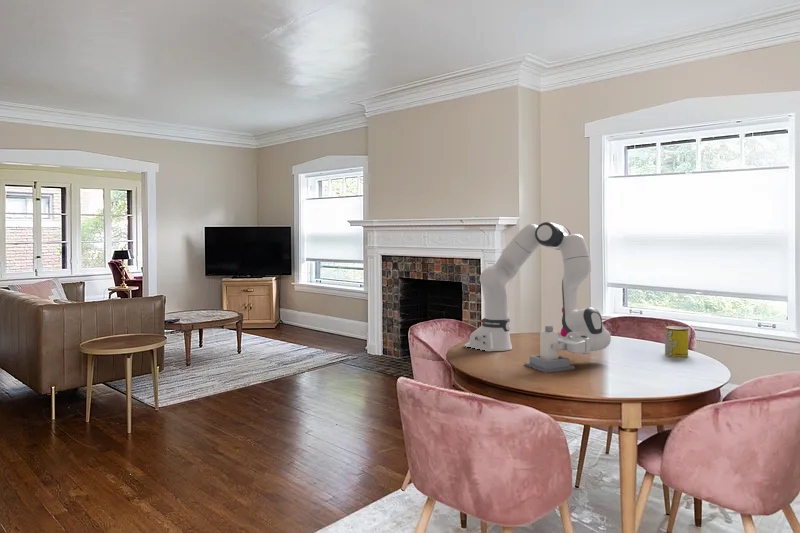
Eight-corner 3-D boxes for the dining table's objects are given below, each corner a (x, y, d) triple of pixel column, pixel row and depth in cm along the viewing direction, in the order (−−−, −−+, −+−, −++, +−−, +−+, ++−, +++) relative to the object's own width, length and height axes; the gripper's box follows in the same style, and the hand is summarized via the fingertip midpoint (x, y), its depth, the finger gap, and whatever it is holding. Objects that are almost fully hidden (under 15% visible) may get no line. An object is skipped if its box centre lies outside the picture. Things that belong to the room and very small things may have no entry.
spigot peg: (540, 360, 227) (540, 326, 226) (550, 359, 228) (550, 325, 228) (547, 362, 222) (547, 328, 221) (558, 361, 224) (558, 327, 223)
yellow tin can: (672, 352, 250) (672, 325, 249) (692, 355, 243) (692, 328, 242) (660, 354, 245) (661, 327, 244) (680, 358, 238) (681, 330, 237)
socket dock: (524, 365, 229) (524, 355, 229) (552, 361, 234) (552, 352, 234) (545, 372, 216) (545, 362, 216) (574, 369, 221) (574, 359, 221)
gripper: (559, 330, 239) (532, 333, 234) (592, 338, 220) (563, 341, 215) (559, 345, 239) (532, 348, 234) (592, 354, 220) (563, 358, 215)
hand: (547, 345), depth 224 cm, fingers closed on spigot peg, 5 cm apart
